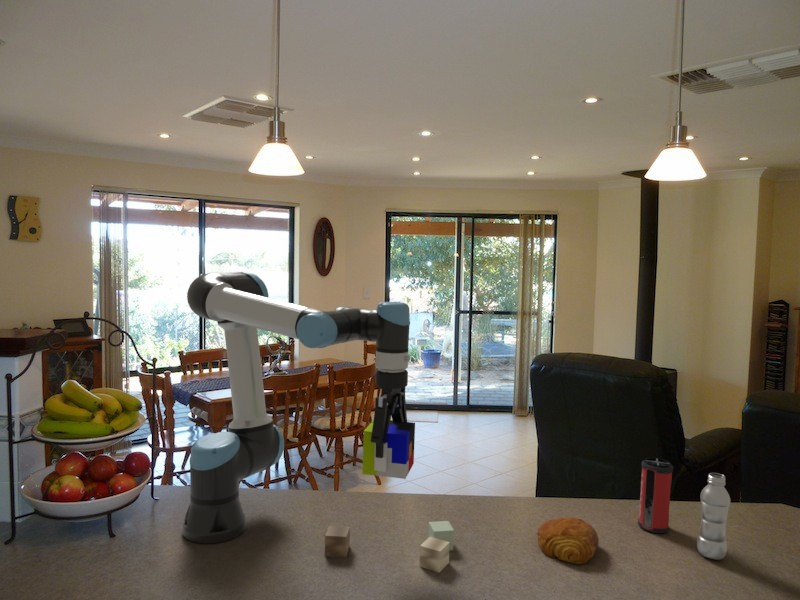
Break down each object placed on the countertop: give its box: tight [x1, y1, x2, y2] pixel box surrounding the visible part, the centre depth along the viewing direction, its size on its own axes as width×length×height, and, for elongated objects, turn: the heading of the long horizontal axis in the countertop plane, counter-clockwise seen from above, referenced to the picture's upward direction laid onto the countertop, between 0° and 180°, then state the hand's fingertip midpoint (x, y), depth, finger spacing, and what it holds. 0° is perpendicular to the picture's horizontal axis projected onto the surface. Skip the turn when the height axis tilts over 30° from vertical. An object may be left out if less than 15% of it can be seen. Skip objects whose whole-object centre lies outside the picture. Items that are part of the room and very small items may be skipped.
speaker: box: [637, 457, 675, 534], centre depth 154 cm, size 8×8×18 cm
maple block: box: [419, 537, 450, 574], centre depth 133 cm, size 5×5×5 cm
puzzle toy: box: [362, 419, 416, 480], centre depth 136 cm, size 10×10×10 cm
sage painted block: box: [427, 520, 455, 551], centre depth 142 cm, size 5×5×5 cm
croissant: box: [536, 517, 600, 565], centre depth 143 cm, size 14×16×8 cm
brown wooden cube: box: [324, 525, 351, 558], centre depth 138 cm, size 5×5×5 cm
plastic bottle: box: [696, 472, 732, 561], centre depth 140 cm, size 6×7×20 cm
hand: (389, 462), depth 137 cm, fingers closed on puzzle toy, 10 cm apart
